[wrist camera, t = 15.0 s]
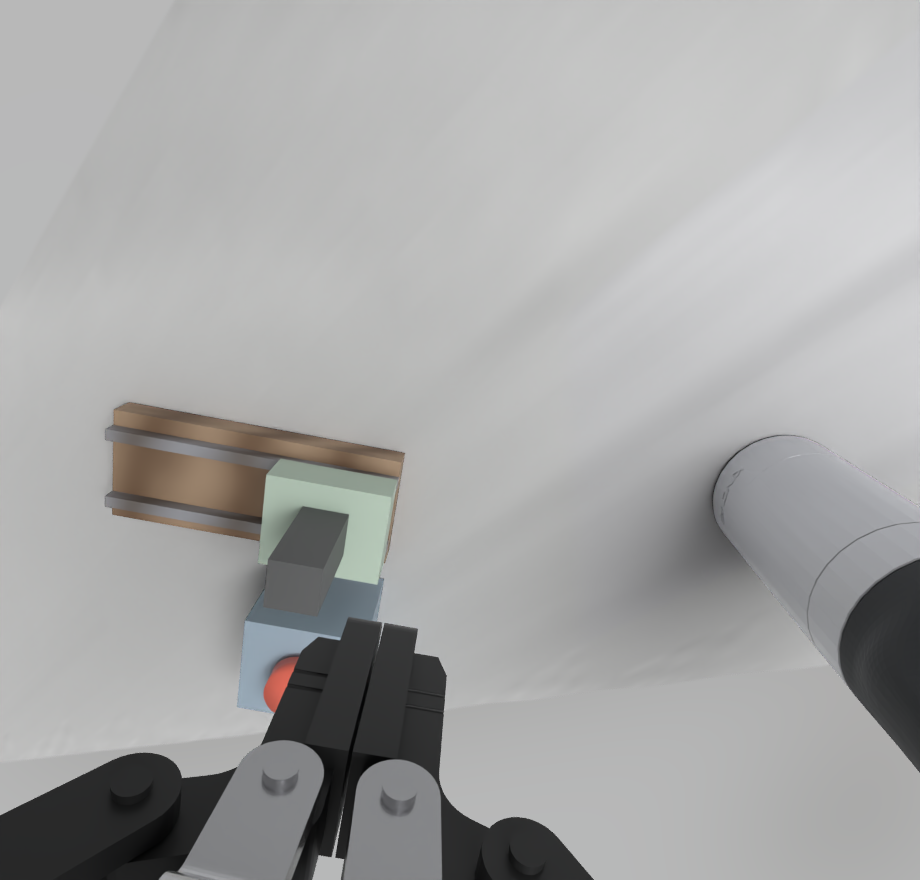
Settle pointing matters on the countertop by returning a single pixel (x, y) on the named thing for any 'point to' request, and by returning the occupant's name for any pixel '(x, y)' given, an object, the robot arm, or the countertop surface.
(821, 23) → the countertop surface
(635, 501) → the countertop surface
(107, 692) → the countertop surface
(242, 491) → the rail track
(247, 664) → the button box
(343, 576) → the carriage
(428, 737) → the robot arm
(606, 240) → the countertop surface
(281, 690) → the button
